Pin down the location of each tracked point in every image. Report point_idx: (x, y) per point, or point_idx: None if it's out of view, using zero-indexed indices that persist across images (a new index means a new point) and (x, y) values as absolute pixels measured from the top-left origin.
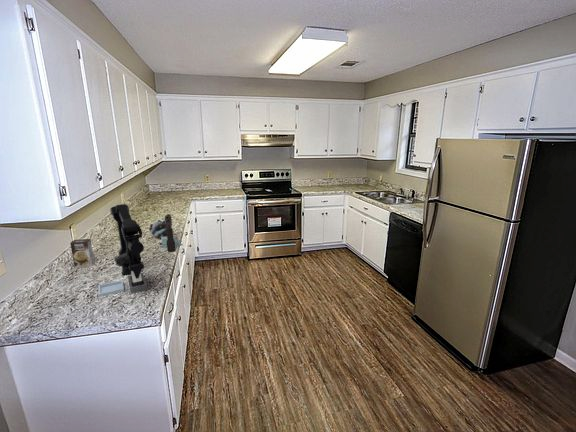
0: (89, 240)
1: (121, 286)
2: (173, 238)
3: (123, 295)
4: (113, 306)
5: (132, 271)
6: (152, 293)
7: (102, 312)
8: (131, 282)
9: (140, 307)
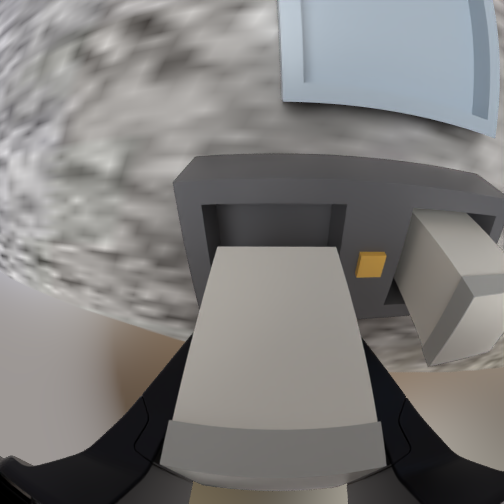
0: None
1: (417, 96)
2: None
3: (211, 89)
4: (54, 52)
5: (171, 426)
6: (159, 293)
7: (22, 16)
8: (346, 206)
9: (22, 219)
